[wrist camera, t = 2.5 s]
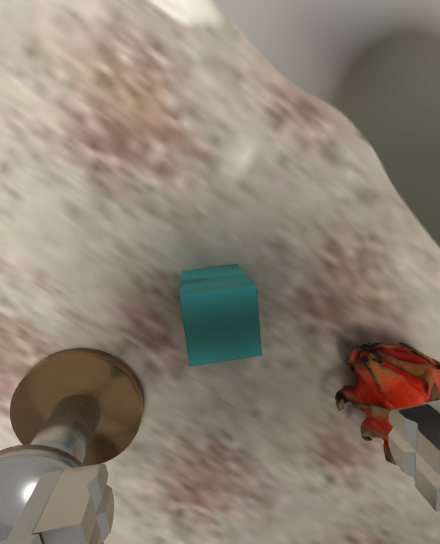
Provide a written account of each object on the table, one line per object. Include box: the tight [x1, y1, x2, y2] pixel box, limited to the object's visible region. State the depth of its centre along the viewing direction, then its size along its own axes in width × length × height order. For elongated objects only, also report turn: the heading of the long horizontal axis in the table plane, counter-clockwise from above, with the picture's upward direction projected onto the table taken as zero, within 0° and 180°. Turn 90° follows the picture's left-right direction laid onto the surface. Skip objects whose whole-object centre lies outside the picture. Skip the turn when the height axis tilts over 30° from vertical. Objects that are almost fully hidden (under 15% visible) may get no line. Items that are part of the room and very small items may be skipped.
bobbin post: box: [0, 349, 144, 541], centre depth 21 cm, size 10×10×10 cm
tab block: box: [180, 264, 262, 366], centre depth 21 cm, size 4×4×7 cm
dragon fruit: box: [335, 343, 440, 465], centre depth 25 cm, size 8×8×12 cm
